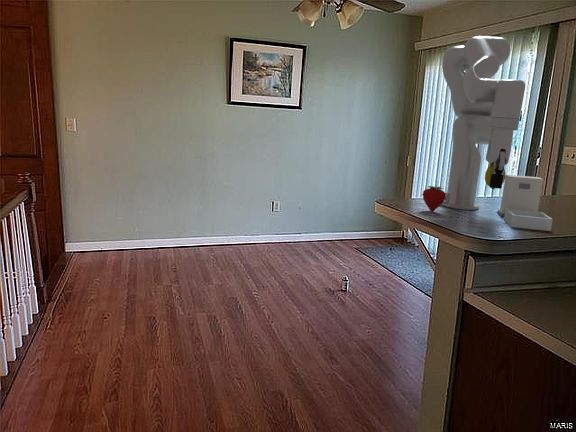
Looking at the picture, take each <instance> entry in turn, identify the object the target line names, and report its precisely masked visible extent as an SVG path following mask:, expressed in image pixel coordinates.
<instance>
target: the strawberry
mask: <svg viewBox="0 0 576 432" xmlns="http://www.w3.org/2000/svg"><path fill="white" fill-rule="evenodd" d="M438 183H439V181H438V180H437V181H436V184H438ZM426 187H428V188H426V189H424V190H423V191H422V198H423V201H424V203H425V205H426V206H427V209H429V211H430V212H435V211H436V210H437V209H438V208H439V207H440V206H442V205H441V204H442V203H443V202H444V199H445V197H446V195H445V192H446V191H444V190H443V188H442V187H441V186H438V185H436V186H433V185H427V186H426Z"/></svg>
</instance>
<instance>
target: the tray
mask: <svg viewBox="0 0 576 432" xmlns="http://www.w3.org/2000/svg"><path fill="white" fill-rule="evenodd" d="M503 220H504V221H505V222H506V223H507V225H508V226H510V227H511V228H518V229H527V230H535V231H536V230H537V231H545V232H551V231H552V226H553V221H554V220H553V218H552V217H550V216H549V215H547V214H546V213H544V212H542V211H538V212H535V211H525V210H515V209H505V215H504V218H503Z"/></svg>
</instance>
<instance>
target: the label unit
mask: <svg viewBox="0 0 576 432" xmlns="http://www.w3.org/2000/svg"><path fill="white" fill-rule="evenodd" d="M543 184H544V179H543V178H542V177H539V176H528V175H516V174H514V175H513V174H505V180H504V182H503V191H502V195H501V201H500V209H497V215H499V216H500V218H503V219H504V215H505V209H515V210H525V211H535V212H539V211H538V210H539V206H540V202H541V201H540V200H541V194H542V188H543Z"/></svg>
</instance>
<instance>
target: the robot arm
mask: <svg viewBox="0 0 576 432" xmlns="http://www.w3.org/2000/svg"><path fill="white" fill-rule="evenodd" d="M510 55H511V45H510V43H509V40H507V38H505V37H500V36H499V37H498V36H486V35H485V36H483V35H478V36H473V37H470V38H469V39H468V40H466V42H465V43H464V45H456V46H455V45H454V46H452V47H449V48H448V49H446V50H445V52H444V54H443V56H442V57H443V58H442V63H441V65H442V66H441V67H442V74H443V78H444V80H445V82H446V84H447V86H448V89H449V92H450V98H451V103H452V108H453V112H454V114H455V116H456V117H457V118H455V120H454V122H453V124H452V152H451V159H450V160H451V162H450V168H449V175H448V184H447V191H446V190H445V191H444V192H445V195H446V197H445V199H444V202H443V203H442V204H441V205H440V206H443V207H446V208H449V209H450V208H451V209H456V210H465V211H467V210H468V211H476V210H478V209H479V207H480V205H479V204H478V203H476V198H477V197H476V196H477V189H478V183H479V175H480V170H481V163H482V155H481V152H480V150H479V149H478V147H477V145H488V146H487V149H486V154H485V161H486V162H487V163H488V164H489V166H491V165H492V164H494V166H493V174H491V180H490V185H489V186H488V187H489V188H490V189H491V188H495V189H502V187H503V186H502V185H503V184H502V182H503V176H504V169H505V166H506V165H508V164H509V162H510V161H509V160H510V156H511V151H512V146H513V145H512V143H513V138H514V131H518V129H519V125H520V124H519V123H520V118H521V113H522V107H523V103H524V102H523V101H524V96H525V90H526V83H525V81H524V80H521V79H512V78H511V79H510V78H509V79H498V78H493V76H495V75H496V74H497V73H498V71H499V69H500V66H502V65H503V64H505V62H506V61H508V59H509V56H510ZM489 166H488V167H489ZM496 166H497V167H496ZM503 183H504V182H503Z"/></svg>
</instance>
